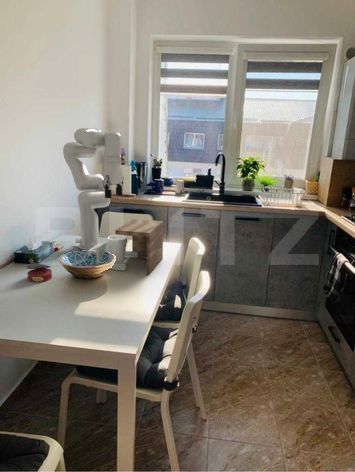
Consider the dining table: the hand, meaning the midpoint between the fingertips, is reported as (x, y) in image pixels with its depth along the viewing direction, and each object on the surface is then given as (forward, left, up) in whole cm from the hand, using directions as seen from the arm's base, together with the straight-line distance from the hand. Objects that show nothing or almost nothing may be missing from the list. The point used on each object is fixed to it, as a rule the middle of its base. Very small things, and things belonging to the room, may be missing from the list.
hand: (113, 196), depth 171 cm
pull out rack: (-1, -1, -33) cm, 33 cm away
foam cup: (+2, -1, -33) cm, 33 cm away
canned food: (-23, -29, -33) cm, 50 cm away
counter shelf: (+14, -1, -33) cm, 36 cm away
